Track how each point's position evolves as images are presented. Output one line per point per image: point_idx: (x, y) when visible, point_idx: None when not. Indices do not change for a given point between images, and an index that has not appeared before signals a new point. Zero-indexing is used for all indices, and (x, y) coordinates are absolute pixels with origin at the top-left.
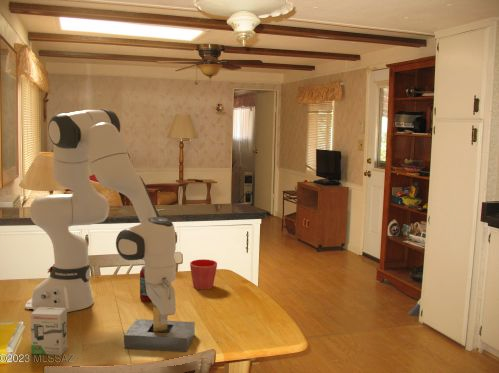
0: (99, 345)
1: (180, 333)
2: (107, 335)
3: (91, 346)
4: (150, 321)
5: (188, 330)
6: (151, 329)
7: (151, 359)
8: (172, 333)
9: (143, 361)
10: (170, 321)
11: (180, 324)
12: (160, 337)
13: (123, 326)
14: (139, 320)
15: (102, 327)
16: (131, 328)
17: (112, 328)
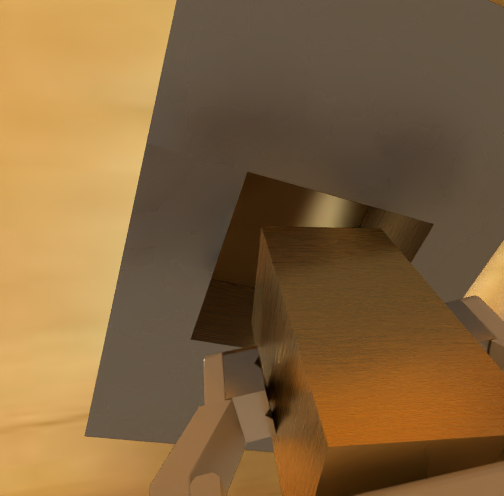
0: (261, 468)
1: (488, 120)
2: (150, 462)
3: (264, 487)
4: (142, 356)
5: (453, 17)
6: (227, 322)
7: (501, 274)
8: (452, 194)
9: (501, 307)
10: (154, 200)
11: (259, 97)
12: (469, 280)
13: (19, 423)
14: (116, 419)
15: (42, 492)
16: (260, 441)
17: (54, 459)
